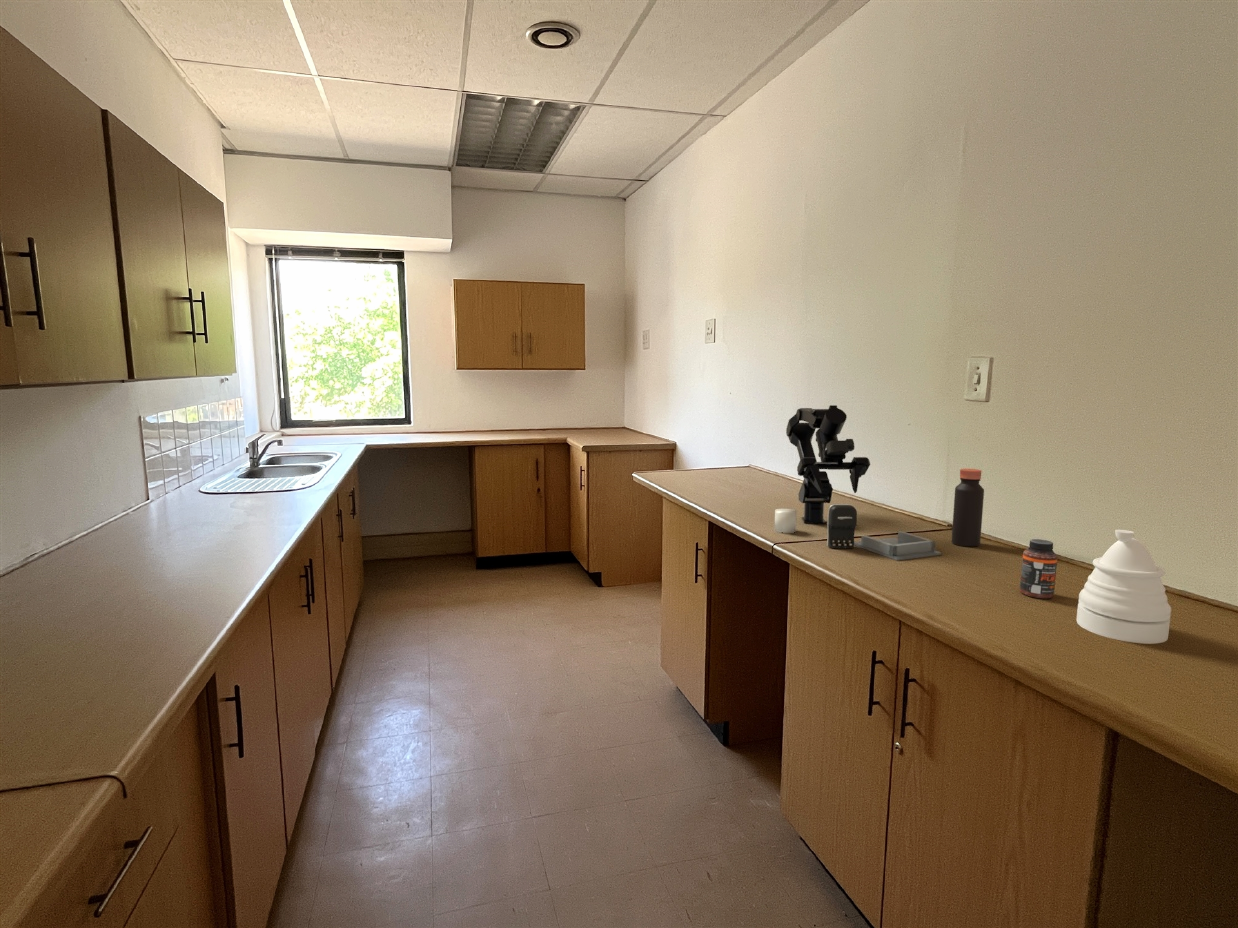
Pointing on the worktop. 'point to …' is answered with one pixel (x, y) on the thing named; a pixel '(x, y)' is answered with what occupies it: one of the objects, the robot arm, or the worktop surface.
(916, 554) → the tray
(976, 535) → the vinegar
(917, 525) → the worktop surface
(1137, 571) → the honey pot
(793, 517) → the white rounded cube
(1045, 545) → the supplement bottle
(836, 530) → the battery charger
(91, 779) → the worktop surface
